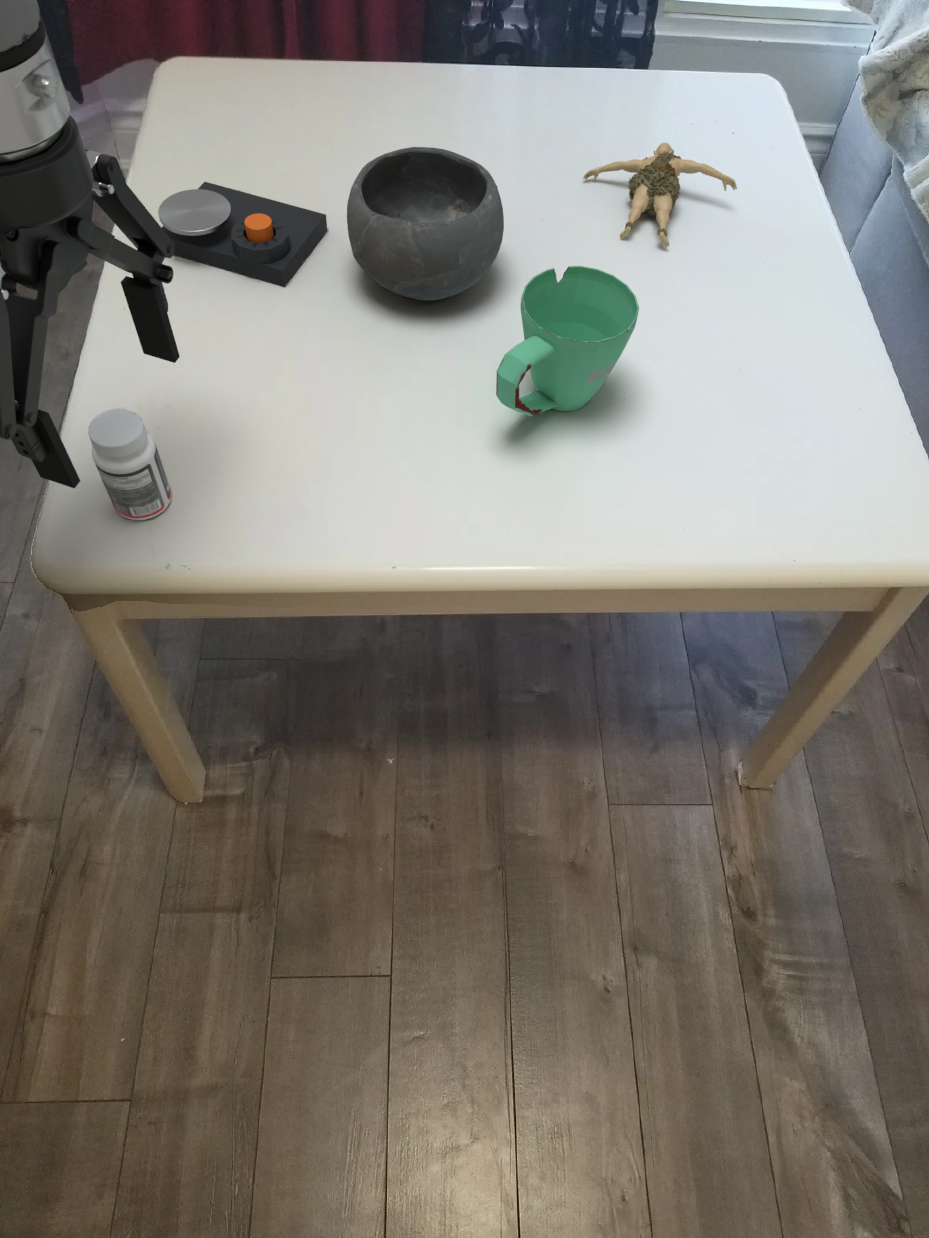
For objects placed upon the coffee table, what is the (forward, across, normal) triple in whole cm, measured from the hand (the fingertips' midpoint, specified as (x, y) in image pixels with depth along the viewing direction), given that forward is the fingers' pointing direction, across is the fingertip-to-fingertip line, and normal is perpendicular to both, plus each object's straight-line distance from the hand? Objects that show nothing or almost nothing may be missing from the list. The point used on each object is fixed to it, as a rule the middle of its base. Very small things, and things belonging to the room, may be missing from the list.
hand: (114, 414), depth 67 cm
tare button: (+6, +31, +5) cm, 32 cm away
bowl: (+10, +36, -10) cm, 39 cm away
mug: (+10, +23, -27) cm, 37 cm away
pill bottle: (+10, 0, 0) cm, 10 cm away
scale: (+10, +34, +9) cm, 36 cm away
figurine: (+10, +57, -29) cm, 65 cm away
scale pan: (+6, +31, +12) cm, 34 cm away
